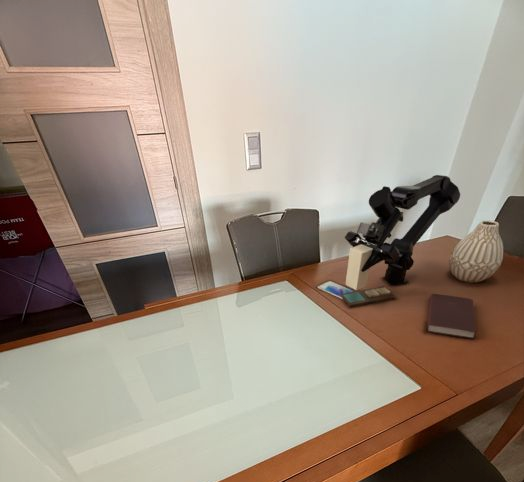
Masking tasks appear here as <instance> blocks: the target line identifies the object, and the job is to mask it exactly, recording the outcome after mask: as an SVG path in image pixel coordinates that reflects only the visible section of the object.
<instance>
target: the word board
mask: <svg viewBox="0 0 524 482" xmlns="http://www.w3.org/2000/svg"><path fill="white" fill-rule="evenodd" d="M354 291H355V292H349V293H344V294H340V296H341V297H342V299H341V300H342V301H344V303H345V304H346V305H347V307H348V308H353V307H359V306H364V305H369V304H375V303H382V302H385V301H391V300H395V299H396V296H395V295H394V294H393V293H392V292H391V291H390V290H389V289H388V288H387V287H385V286H383V285H382V286H377V287H372V288H371V287H370V288H367V289H361V290H360V289H359V290H354Z"/></svg>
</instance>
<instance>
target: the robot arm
mask: <svg viewBox="0 0 524 482" xmlns="http://www.w3.org/2000/svg"><path fill="white" fill-rule="evenodd" d="M428 196H429V200H428V206H427V207H426V208H425V209H424V211H423V212H422V213H421V214H420V216H419V217H418V218H417V220H416V221H415V222H414V223H413V224H412V226H410V228H409V230H408V231H407V232H406V233H405V234H404V235H403V237H402V238H397V237H396V238H394V239H393V240H392V241H391V242H390V243H389V242H386V240H387V239H391V237H392V232H393V230H394V228H395V227H396V225H397V224H398V223H399V222H404V212H403V211H401V210H400V209H402V210H407V211H409V210H412V208H414V207H415V206H416V205H418V202H419V200H421V199H424V198H425V197H428ZM460 198H461V191H460V189H459V187H458V186H457V185H456V184H455V183H454V182H452V180H451V178H450V177H449V176H448V175H441V174H435V175H432V177H430V178H427V179H425V180H422V181H420V182H418V183H415V184H413V185H400V186H395V187H394V188H393V189H392V190H391V188H390V186H382V188H381V189H377V190H376V191H375V192H374V193H372V194H370V197H369V199H368V205H369V206H370V208H371V209H372V211H373V213H374V214H375V216H376V217H377V218H378V219H377V220H376V222H371V224H369V223H364V222H360V223H359V226H358V228H357V231H356V232H355V231H352V230H350V231H348V232H347V233H346V234H345V235H344V239H345V240H346V242H347V243H348V244H349V245H350V246H352V247H351V248H353V247H355V246H358V245H361V244H362V245H365V246H367V247H370V248H372V253H371V256H370V257H369V258H368V260H367V261H366V263H365V264H364V266H363V268H362V270H361V271H362V272H364V271H366V270H367V269H369V268H370V269H371V268H373V267H374V266H375V265H377V264H379V263H381V262H383V261H384V265H387V267H386V270H385V274H384V276H383V277H382V279H383V280H384V281H385V282H387V283H388V284H389V285H390V286H396V285H402V284H406V283H407V282H408V281H407V280H406V275H407V272H408V271H410V270H411V268H412V267H413V266H414V263H415V260H414V259H413V257H412V256H413V252H414V247H415V245H416V244H417V243H418V242H419V241H420V239H421V238H422V237H423V235H425V233H426V232H427V231H428V229H429V228H430V227H431V226H432V224H434V223H435V221H436V220H437V219H438V217H439V216H440V215H442V214H445V213H446V212H448V211H450V210H451V209H452V208H453V207H454V206H455V205H456V204H457V203H458V202H459V200H460ZM360 234H361V235H360ZM361 236H362V237H361ZM363 238H364V239H363Z"/></svg>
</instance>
